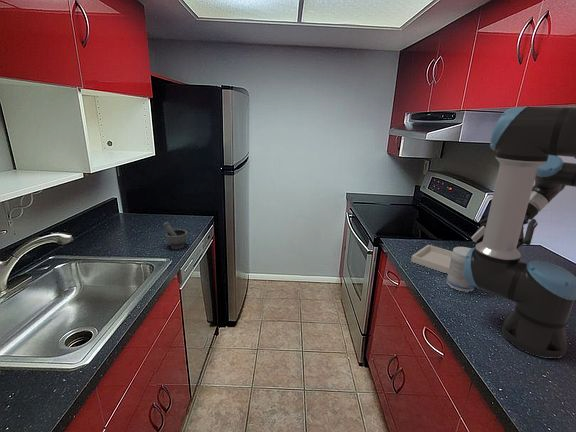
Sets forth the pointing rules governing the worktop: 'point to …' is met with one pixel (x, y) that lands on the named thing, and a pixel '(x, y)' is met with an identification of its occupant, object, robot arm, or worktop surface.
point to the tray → (433, 258)
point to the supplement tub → (458, 270)
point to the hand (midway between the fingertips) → (487, 247)
